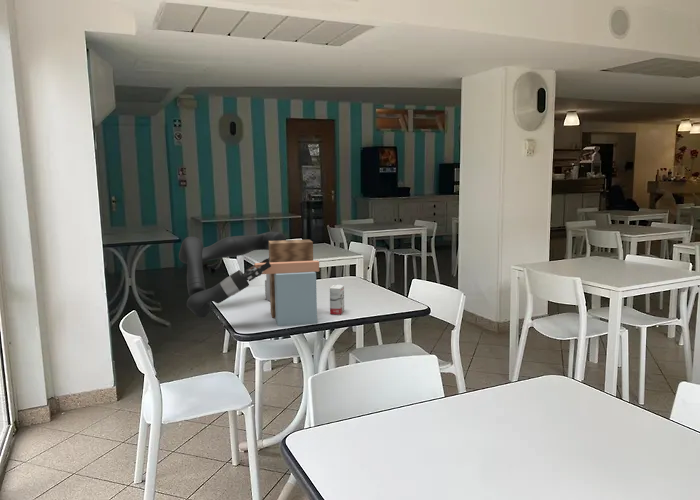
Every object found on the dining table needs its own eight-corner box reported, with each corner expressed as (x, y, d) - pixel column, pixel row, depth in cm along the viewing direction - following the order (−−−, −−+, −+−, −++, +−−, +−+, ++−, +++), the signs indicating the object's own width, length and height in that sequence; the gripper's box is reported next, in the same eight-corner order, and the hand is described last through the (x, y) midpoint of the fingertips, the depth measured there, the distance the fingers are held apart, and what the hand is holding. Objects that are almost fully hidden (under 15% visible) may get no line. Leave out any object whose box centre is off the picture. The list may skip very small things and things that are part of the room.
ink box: (340, 315, 238) (340, 288, 237) (329, 314, 239) (329, 288, 238) (344, 310, 247) (344, 284, 245) (334, 309, 248) (333, 284, 246)
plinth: (272, 318, 234) (270, 243, 230) (270, 312, 244) (268, 240, 240) (314, 315, 238) (312, 242, 234) (310, 309, 248) (309, 239, 244)
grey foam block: (277, 326, 222) (276, 274, 219) (275, 319, 232) (274, 270, 229) (317, 323, 225) (316, 272, 223) (313, 317, 235) (312, 268, 232)
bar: (255, 274, 220) (255, 264, 220) (254, 272, 224) (254, 263, 224) (319, 271, 226) (319, 261, 225) (317, 269, 230) (317, 260, 229)
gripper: (229, 279, 213) (265, 257, 215) (229, 272, 227) (262, 252, 229) (240, 295, 215) (275, 272, 217) (239, 287, 229) (272, 267, 231)
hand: (269, 262), depth 223 cm, fingers open, 8 cm apart
